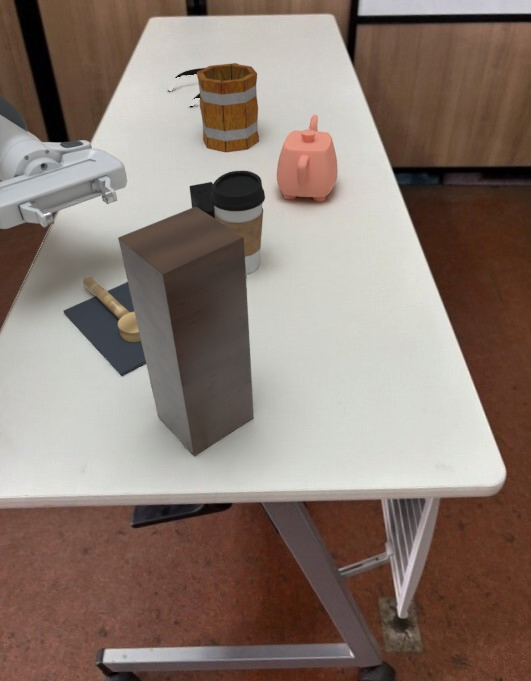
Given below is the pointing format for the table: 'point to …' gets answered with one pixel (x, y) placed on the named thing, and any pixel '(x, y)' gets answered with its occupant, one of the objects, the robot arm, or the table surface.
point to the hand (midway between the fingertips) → (81, 208)
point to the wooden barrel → (229, 106)
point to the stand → (193, 323)
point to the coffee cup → (241, 210)
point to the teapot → (307, 164)
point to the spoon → (115, 311)
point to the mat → (108, 330)
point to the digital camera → (202, 197)
